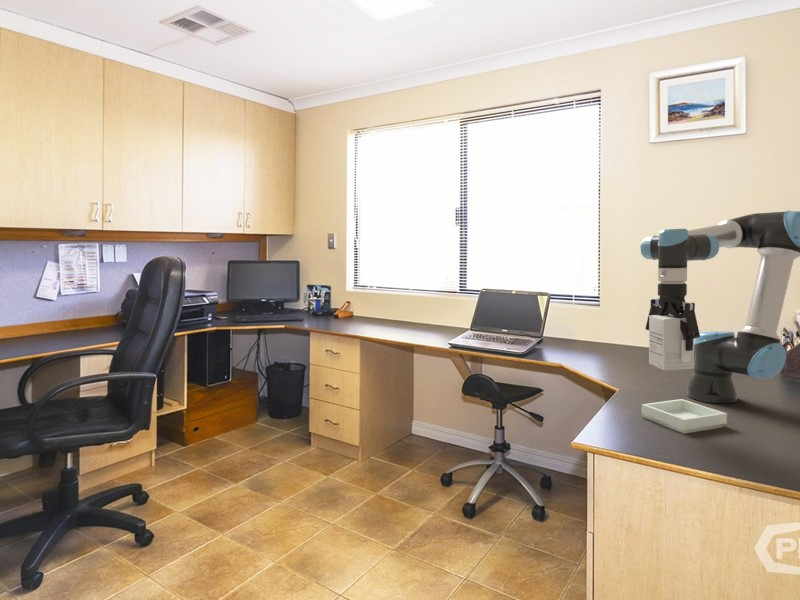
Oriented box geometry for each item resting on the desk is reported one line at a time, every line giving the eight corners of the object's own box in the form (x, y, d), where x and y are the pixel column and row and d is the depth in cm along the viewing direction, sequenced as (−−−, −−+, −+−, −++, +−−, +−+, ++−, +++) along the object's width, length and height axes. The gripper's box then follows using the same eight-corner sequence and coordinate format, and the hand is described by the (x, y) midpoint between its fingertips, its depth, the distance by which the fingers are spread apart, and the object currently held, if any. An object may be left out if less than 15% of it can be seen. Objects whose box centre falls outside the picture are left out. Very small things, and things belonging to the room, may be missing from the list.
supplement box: (677, 362, 161) (678, 313, 160) (694, 369, 152) (695, 317, 151) (647, 363, 161) (648, 314, 159) (663, 370, 152) (664, 318, 150)
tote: (681, 411, 170) (681, 398, 170) (726, 426, 155) (727, 413, 155) (641, 416, 165) (641, 404, 165) (683, 433, 150) (684, 419, 149)
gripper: (633, 281, 163) (632, 352, 166) (695, 285, 142) (693, 367, 144) (652, 279, 166) (651, 349, 168) (716, 284, 144) (714, 364, 147)
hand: (670, 357), depth 156 cm, fingers closed on supplement box, 10 cm apart
